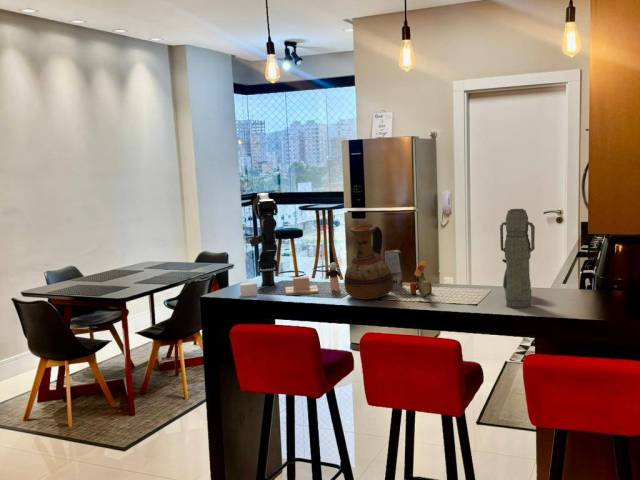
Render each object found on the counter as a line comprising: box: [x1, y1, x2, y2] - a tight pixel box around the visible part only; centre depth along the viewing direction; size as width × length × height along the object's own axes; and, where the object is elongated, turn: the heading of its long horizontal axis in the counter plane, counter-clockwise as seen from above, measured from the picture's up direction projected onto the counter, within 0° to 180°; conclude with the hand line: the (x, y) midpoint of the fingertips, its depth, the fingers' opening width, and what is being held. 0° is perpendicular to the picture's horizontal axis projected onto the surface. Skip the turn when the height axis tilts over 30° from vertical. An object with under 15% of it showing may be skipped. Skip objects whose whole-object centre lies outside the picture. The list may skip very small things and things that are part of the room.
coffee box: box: [384, 249, 404, 291], centre depth 268 cm, size 9×6×16 cm
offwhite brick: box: [239, 281, 258, 297], centre depth 272 cm, size 4×7×5 cm, turn 94°
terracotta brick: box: [292, 276, 310, 290], centre depth 273 cm, size 4×7×5 cm, turn 94°
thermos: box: [499, 208, 536, 309], centre depth 223 cm, size 9×12×35 cm
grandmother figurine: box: [324, 261, 343, 293], centre depth 269 cm, size 8×4×13 cm, turn 84°
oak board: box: [285, 284, 319, 296], centre depth 274 cm, size 14×14×1 cm
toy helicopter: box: [409, 260, 433, 298], centre depth 247 cm, size 8×21×14 cm, turn 0°
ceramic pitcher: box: [343, 223, 393, 300], centre depth 253 cm, size 20×20×30 cm
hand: (270, 264), depth 271 cm, fingers open, 9 cm apart
